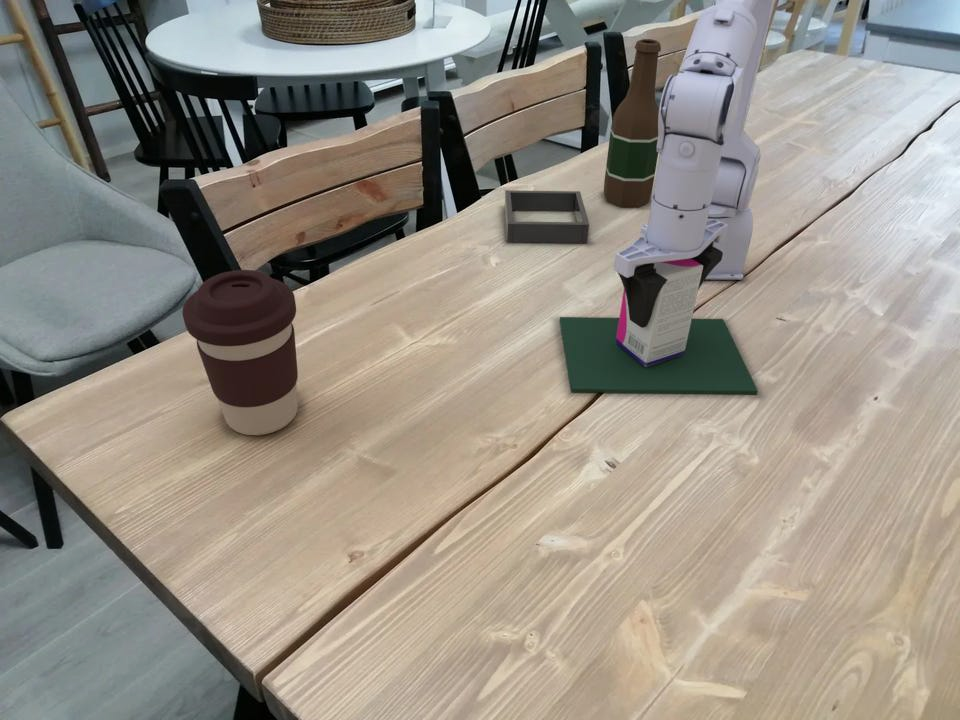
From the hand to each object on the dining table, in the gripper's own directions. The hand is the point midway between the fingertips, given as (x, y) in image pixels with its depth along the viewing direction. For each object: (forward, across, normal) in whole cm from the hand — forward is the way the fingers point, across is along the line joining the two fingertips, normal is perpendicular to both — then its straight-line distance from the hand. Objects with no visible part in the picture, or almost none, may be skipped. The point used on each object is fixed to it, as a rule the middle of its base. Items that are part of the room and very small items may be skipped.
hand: (659, 313), depth 81 cm
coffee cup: (+6, +41, -15) cm, 44 cm away
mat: (+6, 0, 0) cm, 6 cm away
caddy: (+6, -10, -33) cm, 35 cm away
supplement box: (+5, 0, 0) cm, 5 cm away
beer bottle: (+6, -28, -33) cm, 44 cm away
